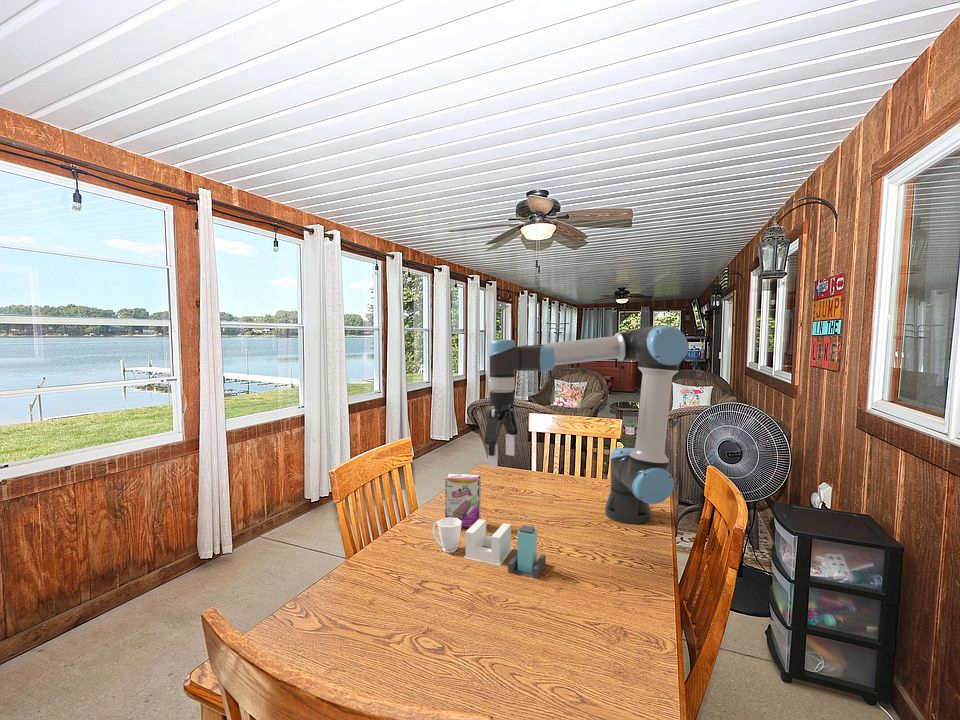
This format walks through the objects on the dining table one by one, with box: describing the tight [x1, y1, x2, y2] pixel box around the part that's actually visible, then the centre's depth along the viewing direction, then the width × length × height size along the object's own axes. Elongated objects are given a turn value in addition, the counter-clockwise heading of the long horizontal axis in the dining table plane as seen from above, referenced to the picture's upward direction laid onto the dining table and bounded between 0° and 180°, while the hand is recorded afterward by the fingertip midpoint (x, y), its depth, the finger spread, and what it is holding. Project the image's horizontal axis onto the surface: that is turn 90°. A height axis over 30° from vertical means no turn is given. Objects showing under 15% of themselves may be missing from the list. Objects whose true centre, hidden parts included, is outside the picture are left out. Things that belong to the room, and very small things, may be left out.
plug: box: [516, 524, 538, 573], centre depth 115 cm, size 4×4×11 cm
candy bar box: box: [444, 473, 482, 529], centre depth 143 cm, size 11×5×16 cm, turn 84°
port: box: [462, 518, 514, 567], centre depth 124 cm, size 11×11×8 cm
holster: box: [507, 549, 547, 580], centre depth 115 cm, size 8×8×3 cm
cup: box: [431, 517, 462, 554], centre depth 128 cm, size 7×10×8 cm
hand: (501, 460), depth 133 cm, fingers open, 13 cm apart
